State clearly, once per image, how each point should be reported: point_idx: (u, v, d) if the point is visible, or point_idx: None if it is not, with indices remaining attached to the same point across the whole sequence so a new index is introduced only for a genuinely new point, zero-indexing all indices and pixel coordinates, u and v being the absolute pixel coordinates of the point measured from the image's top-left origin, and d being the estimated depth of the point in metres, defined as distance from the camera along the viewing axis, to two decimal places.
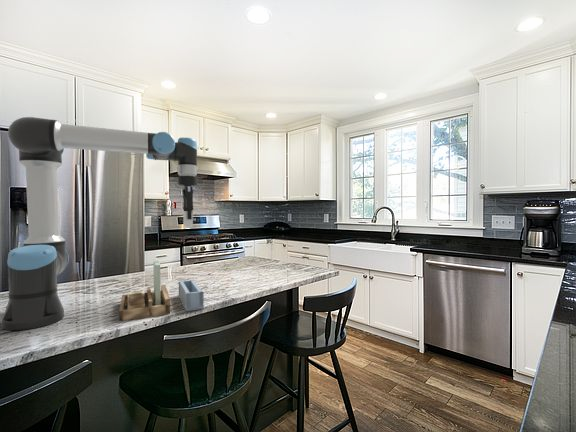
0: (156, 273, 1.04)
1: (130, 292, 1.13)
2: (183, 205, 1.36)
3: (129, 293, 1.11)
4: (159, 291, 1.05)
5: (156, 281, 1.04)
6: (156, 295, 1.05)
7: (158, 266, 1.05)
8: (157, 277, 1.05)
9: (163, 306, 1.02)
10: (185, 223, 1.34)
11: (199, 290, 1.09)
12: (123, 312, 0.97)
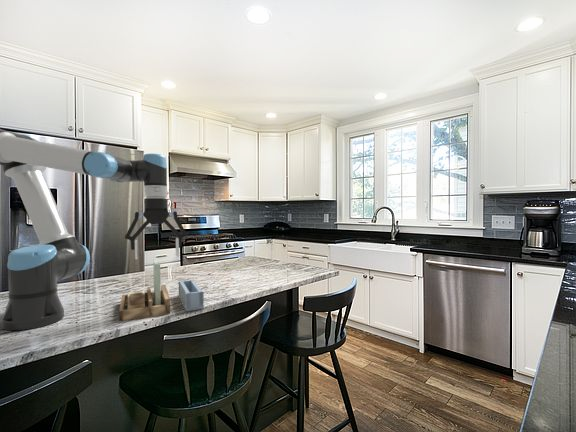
0: (156, 273, 1.04)
1: (130, 292, 1.13)
2: (181, 231, 1.14)
3: (129, 293, 1.11)
4: (159, 291, 1.05)
5: (156, 281, 1.04)
6: (156, 295, 1.05)
7: (158, 266, 1.05)
8: (157, 277, 1.05)
9: (163, 306, 1.02)
10: (176, 252, 1.13)
11: (199, 290, 1.09)
12: (123, 312, 0.97)
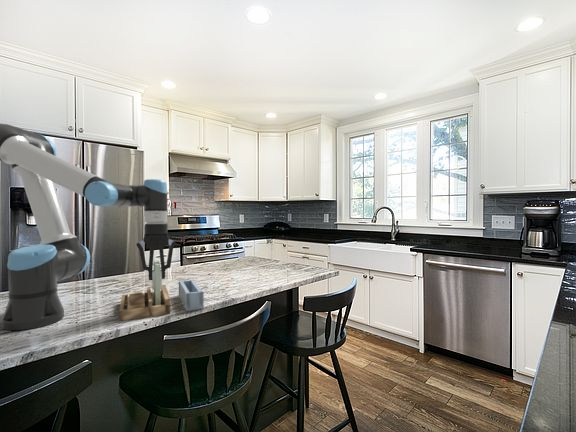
0: (156, 273, 1.04)
1: (130, 292, 1.13)
2: (167, 261, 1.13)
3: (129, 293, 1.11)
4: (159, 291, 1.05)
5: (156, 281, 1.04)
6: (156, 295, 1.05)
7: (158, 266, 1.05)
8: (157, 277, 1.05)
9: (163, 306, 1.02)
10: None
11: (199, 290, 1.09)
12: (123, 312, 0.97)
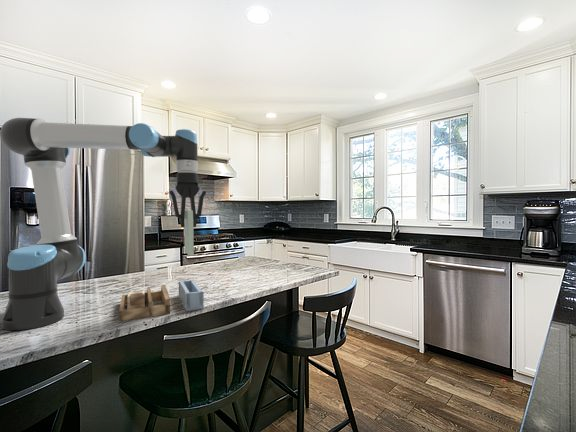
0: (189, 218, 1.09)
1: (130, 292, 1.13)
2: None
3: (129, 293, 1.11)
4: (192, 236, 1.09)
5: (189, 226, 1.09)
6: (189, 239, 1.09)
7: (191, 212, 1.09)
8: (190, 222, 1.09)
9: (163, 306, 1.02)
10: None
11: (199, 290, 1.09)
12: (123, 312, 0.97)
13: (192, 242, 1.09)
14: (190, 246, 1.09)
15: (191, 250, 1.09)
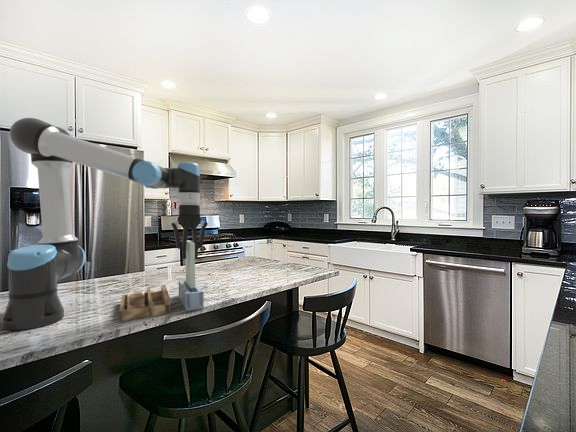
0: (191, 251, 1.09)
1: (130, 292, 1.13)
2: (199, 241, 1.17)
3: (129, 293, 1.12)
4: (194, 268, 1.10)
5: (191, 259, 1.09)
6: (191, 272, 1.09)
7: (193, 244, 1.09)
8: (192, 255, 1.09)
9: (163, 306, 1.02)
10: None
11: (199, 290, 1.09)
12: (123, 312, 0.97)
13: (194, 275, 1.10)
14: (191, 279, 1.10)
15: (192, 283, 1.10)
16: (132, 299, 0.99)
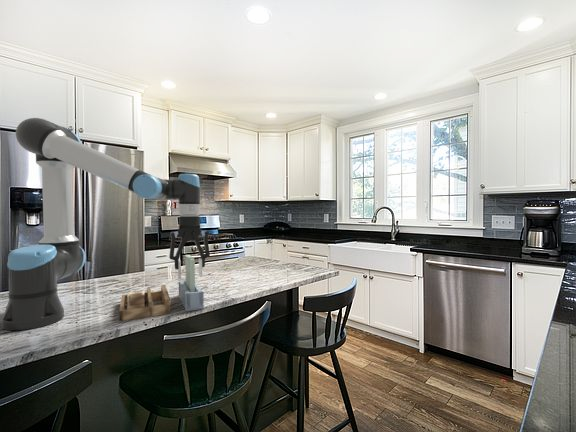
0: (191, 267, 1.09)
1: (130, 292, 1.13)
2: (205, 250, 1.19)
3: (129, 293, 1.12)
4: (193, 284, 1.10)
5: (191, 275, 1.09)
6: (191, 288, 1.10)
7: (193, 260, 1.10)
8: (192, 271, 1.10)
9: (163, 306, 1.02)
10: (199, 272, 1.17)
11: (199, 290, 1.09)
12: (123, 312, 0.97)
13: (193, 290, 1.10)
14: None
15: None
16: (132, 299, 0.99)
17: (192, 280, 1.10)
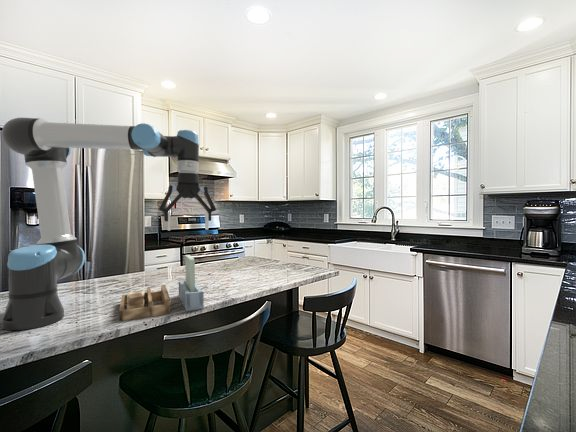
0: (191, 267, 1.09)
1: (131, 292, 1.13)
2: None
3: (129, 293, 1.12)
4: (193, 284, 1.10)
5: (191, 275, 1.09)
6: (191, 288, 1.10)
7: (193, 260, 1.10)
8: (192, 271, 1.10)
9: (163, 306, 1.02)
10: (205, 226, 1.18)
11: (199, 290, 1.09)
12: (123, 312, 0.97)
13: (193, 290, 1.10)
14: None
15: None
16: (131, 299, 0.99)
17: (192, 280, 1.10)
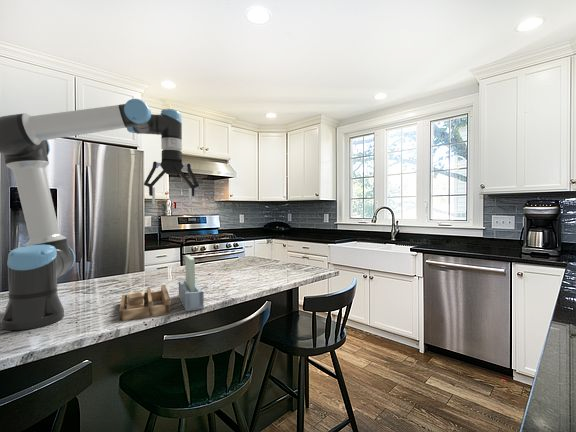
0: (191, 267, 1.09)
1: (131, 292, 1.13)
2: (193, 182, 1.26)
3: (129, 293, 1.12)
4: (193, 284, 1.10)
5: (191, 275, 1.09)
6: (191, 288, 1.10)
7: (193, 260, 1.10)
8: (192, 271, 1.10)
9: (163, 306, 1.02)
10: (189, 201, 1.24)
11: (199, 290, 1.09)
12: (123, 312, 0.97)
13: (193, 290, 1.10)
14: None
15: None
16: (131, 299, 0.99)
17: (192, 280, 1.10)
